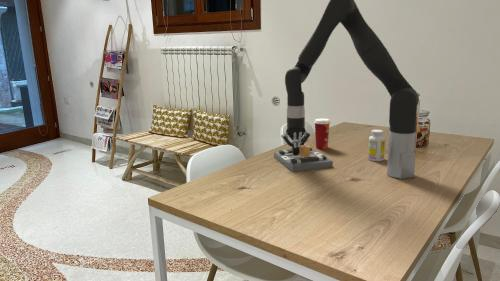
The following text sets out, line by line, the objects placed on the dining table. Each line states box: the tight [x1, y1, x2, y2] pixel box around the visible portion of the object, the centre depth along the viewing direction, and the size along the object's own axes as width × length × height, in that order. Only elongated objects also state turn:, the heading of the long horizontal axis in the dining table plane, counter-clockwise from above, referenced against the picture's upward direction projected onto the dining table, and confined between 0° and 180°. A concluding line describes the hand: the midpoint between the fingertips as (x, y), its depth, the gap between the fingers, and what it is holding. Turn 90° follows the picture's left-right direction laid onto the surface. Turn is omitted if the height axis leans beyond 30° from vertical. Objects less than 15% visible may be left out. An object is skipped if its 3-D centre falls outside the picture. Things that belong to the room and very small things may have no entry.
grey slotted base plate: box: [279, 146, 327, 164], centre depth 168 cm, size 17×15×4 cm
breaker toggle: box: [299, 143, 310, 157], centre depth 168 cm, size 5×3×5 cm, turn 16°
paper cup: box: [313, 117, 331, 150], centre depth 188 cm, size 8×8×14 cm
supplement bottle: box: [367, 129, 386, 162], centre depth 167 cm, size 7×7×13 cm
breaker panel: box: [273, 148, 334, 173], centre depth 168 cm, size 22×18×3 cm
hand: (295, 155), depth 167 cm, fingers closed
